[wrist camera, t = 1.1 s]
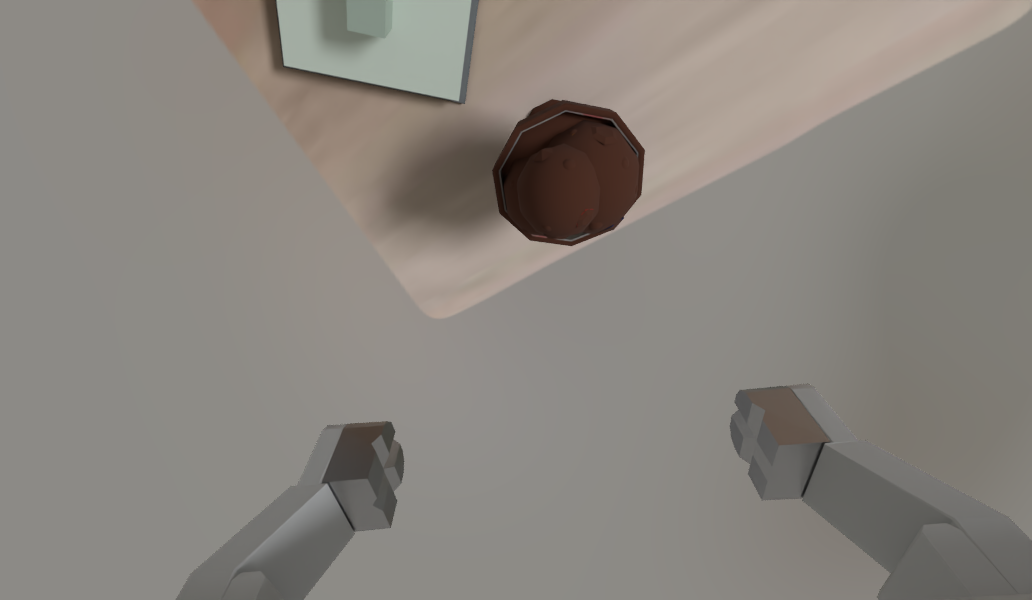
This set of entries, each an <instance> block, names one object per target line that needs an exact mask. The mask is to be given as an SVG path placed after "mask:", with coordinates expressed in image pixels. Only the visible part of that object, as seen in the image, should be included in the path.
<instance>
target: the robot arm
mask: <svg viewBox="0 0 1032 600" xmlns="http://www.w3.org/2000/svg"><path fill="white" fill-rule="evenodd" d="M735 404H736V406H737V407H738V409H739V410H738V411H737V412H735V414H733V415H732V417H731V423H730V431H731V438H732V441H733V444H734V447H735V449H736V451H737V453H738V455H739V457H740V458H742V459H743V460H745V461H746V462H748V463H749V464H750V468H749V472H748V475H749V477H750V478H751V480H752V482H753V484H754V486H755V488H756V490H757V492H758V494H759V495H760V497H761V499H762V500H779V499H799V498H803V500H802V501H804V502H805V503H806V504H807V505H808V506H810V507H811V508H812V509H813V510H814V511H816V512H817V513H818V514H819V515H820V516H822V517H823V518H824V519H825V520H827V521H828V522H829V523H830V524H831V525H833V526H834V527H835V528H836V529H838V530H839V531H840V532H841V533H842V534H844V535H845V536H846V537H847V538H848V539H850V540H851V541H852V542H853V543H855V544H856V545H857V546H858V547H859V548H861V549H862V550H863V551H864V552H865V553H867V554H868V555H869V556H870V557H872V558H873V559H874V560H875V561H876V562H878V563H879V564H880V565H882V567H884V568H885V569H886V570H887V571H889V572H890V573H891V574H890V576H889V577H888V579H887V580H886V582H885V583H884V585H883V586H882V588H881V589H880V591H879V593H878V596H877V598H878V599H879V600H1032V540H1031V539H1030V538H1029V537H1028V536H1027V535H1026V534H1025V533H1024V532H1023V531H1022V530H1021V529H1020V528H1019V527H1018V526H1017V525H1016V524H1015V523H1014V522H1013V521H1012V520H1011V519H1010V518H1009V517H1007V516H1006V515H1004V514H1002V513H1000V512H998V511H996V510H994V509H993V508H991V507H989V506H987V505H985V504H983V503H982V502H980V501H978V500H976V499H974V498H972V497H970V496H969V495H966V494H965V493H963V492H961V491H959V490H957V489H955V488H954V487H952V486H950V485H948V484H946V483H944V482H943V481H941V480H939V479H937V478H935V477H933V476H931V475H930V474H928V473H926V472H924V471H922V470H920V469H918V468H916V467H915V466H913V465H911V464H909V463H907V462H905V461H903V460H902V459H900V458H898V457H896V456H894V455H893V454H891V453H889V452H887V451H885V450H883V449H881V448H879V447H878V446H876V445H874V444H872V443H870V442H868V441H866V440H858V439H857V438H856V437H855V436H854V435H853V433H852V432H851V431H850V430H849V429H848V427H847V426H846V425H845V424H844V422H843V421H842V420H841V419H840V418H839V416H838V415H837V414H836V413H835V412H834V410H833V409H832V408H831V407H830V406H829V404H828V403H827V402H826V401H825V400H824V398H823V397H822V396H821V395H820V393H819V392H818V391H817V390H816V389H815V387H813V386H812V385H810V384H799V385H790V386H777V387H767V388H757V389H746V390H740V391H739V392H738V393H737V394H736V398H735ZM394 435H395V430H394V427H393V425H392V423H391V422H388V421H386V422H369V423H353V424H344V425H328V426H327V427H326V428H324V429H323V431H322V432H321V434H320V437H319V439H318V441H317V443H316V445H315V447H314V450H313V452H312V454H311V456H310V458H309V461H308V463H307V465H306V467H305V469H304V472H303V474H302V476H301V478H300V480H299V482H298V485H297V486H291V487H289V488H288V489H287V490H286V491H285V492H284V493H282V494H281V495H280V496H279V497H278V498H277V499H276V500H274V501H273V502H272V503H271V504H270V505H269V506H268V507H266V508H265V509H264V510H263V511H262V512H261V513H260V514H258V515H257V516H256V517H255V518H254V519H253V520H252V521H250V522H249V523H248V524H247V525H246V526H245V527H244V528H242V529H241V530H240V531H239V532H238V533H237V534H236V535H234V536H233V537H232V538H231V539H230V540H229V541H228V542H227V543H225V544H224V545H223V546H222V547H221V548H220V549H219V550H218V551H216V552H215V553H214V554H213V555H212V556H211V557H209V558H208V559H207V560H206V561H205V562H204V563H202V564H201V565H200V566H199V567H198V568H197V569H196V570H194V571H193V572H192V573H191V574H190V576H189V577H188V579H187V581H186V583H185V585H184V586H183V588H182V590H181V591H180V593H179V595H178V596H177V598H176V600H304V598H305V597H306V595H308V593H309V592H310V591H311V589H312V588H313V587H314V586H315V584H316V583H317V582H318V580H319V579H320V578H321V577H322V575H323V574H324V573H325V571H326V570H327V569H328V568H329V566H330V565H331V564H332V562H333V561H334V560H335V559H336V557H337V556H338V555H339V553H340V552H341V551H342V550H343V548H344V547H345V546H346V545H347V543H348V542H349V541H350V539H351V538H352V537H353V536H354V534H355V533H354V532H355V531H365V530H375V529H384V528H391V525H392V520H393V516H394V512H395V508H396V504H397V499H396V497H395V495H394V491H395V489H396V488H397V487H398V486H399V485H400V484H401V482H402V478H403V473H404V456H403V450H402V448H401V445H400V444H399V443H398V442H396V441H395V440H394V439H393V438H394Z"/></svg>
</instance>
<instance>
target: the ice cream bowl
mask: <svg viewBox="0 0 1032 600" xmlns="http://www.w3.org/2000/svg"><path fill="white" fill-rule="evenodd" d="M644 153H645V150H644V148H643V147H642V146H641V144H640V143H639V142H638V140H637V139H636V138H635V136H634V135H633V134H632V133H631V131H630V130H629V129H628V127H627V126H626V125H625V123H624V122H623V121H622V119H621V118H620V117H619V115H618V114H617V113H616V112H614V111H612V110H610V109H606V108H601V107H596V106H591V105H586V104H580V103H575V102H570V101H565V100H562V101H558V100H553V99H552V100H550V101H548V102H546V103H544V104H542V105H540V106H538V107H536V108H534V109H533V110H532V112H531V114H530V115H529V117H527V118H525V119H523V120H521V121H519V122H518V123H517V125H516V127H515V129H514V130H513V132H512V134H511V136H510V138H509V140H508V141H507V143H506V145H505V147H504V149H503V150H502V152H501V154H500V156H499V158H498V160H497V161H496V163H495V166H494V168H493V170H492V171H493V177H494V183H495V189H496V195H497V201H498V207H499V213H500V214H501V215H502V216H503V217H504V218H506V219H507V220H508V221H509V222H510V223H511V224H512V225H513V226H515V227H516V228H517V229H518V230H519V231H520V232H521V233H522V234H523V235H525V236H526V237H527V238H528V239H529V240H531V241H539V242H546V243H553V244H560V245H568V246H573V245H576V244H578V243H581V242H583V241H586V240H588V239H591V238H593V237H596V236H598V235H601V234H603V233H606V232H608V231H611V230H614V229H615V228H616V226H617V225H618V224H619V223H620V222H621V221H622V220H623V219H624V215H625V214H626V213H627V212H628V210H629V209H630V208H631V207H632V205H633V204H634V203H635V202H636V200H637V199H638V198H639V197H640V196H641V191H642V179H643V166H644Z"/></svg>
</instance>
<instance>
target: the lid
mask: <svg viewBox="0 0 1032 600" xmlns="http://www.w3.org/2000/svg"><path fill="white" fill-rule="evenodd" d="M470 8H471V0H277V9H278V17H279V26H280V34H281V43H282V51H283V60H284V66H289V67H293V68H298V69H303V70H308V71H313V72H318V73H323V74H328V75H333V76H338V77H342V78H347V79H352V80H357V81H362V82H367V83H372V84H377V85H382V86H387V87H392V88H396V89H401V90H406V91H411V92H416V93H421V94H426V95H431V96H436V97H441V98H446V99H450V100H455V101H459V96H460V88H461V80H462V72H463V64H464V56H465V48H466V40H467V32H468V24H469V16H470Z"/></svg>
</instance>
